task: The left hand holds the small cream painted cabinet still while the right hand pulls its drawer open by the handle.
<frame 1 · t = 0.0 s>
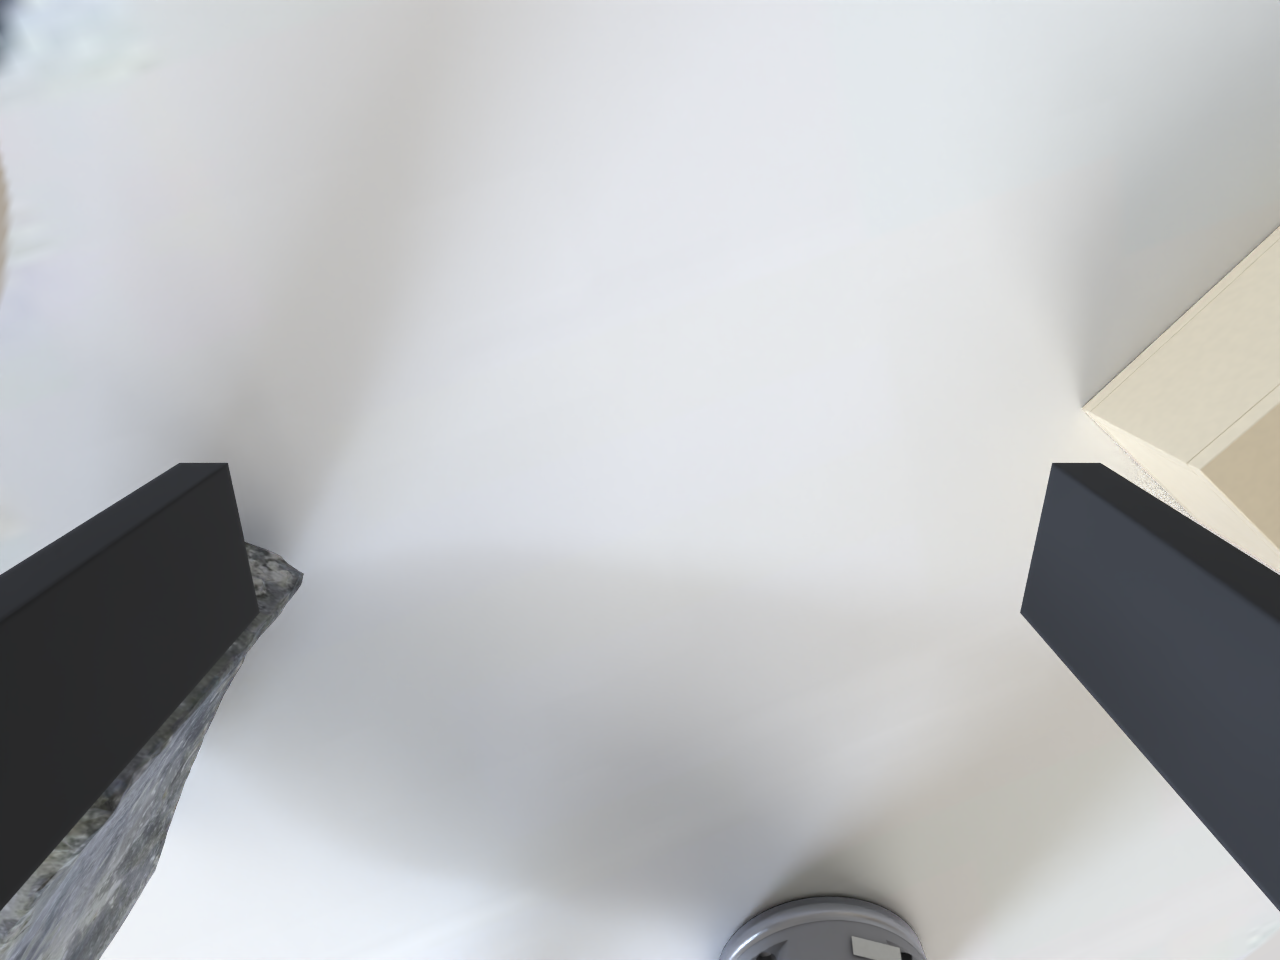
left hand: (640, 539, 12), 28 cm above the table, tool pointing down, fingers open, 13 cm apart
concrete block: (191, 676, 47), on the table
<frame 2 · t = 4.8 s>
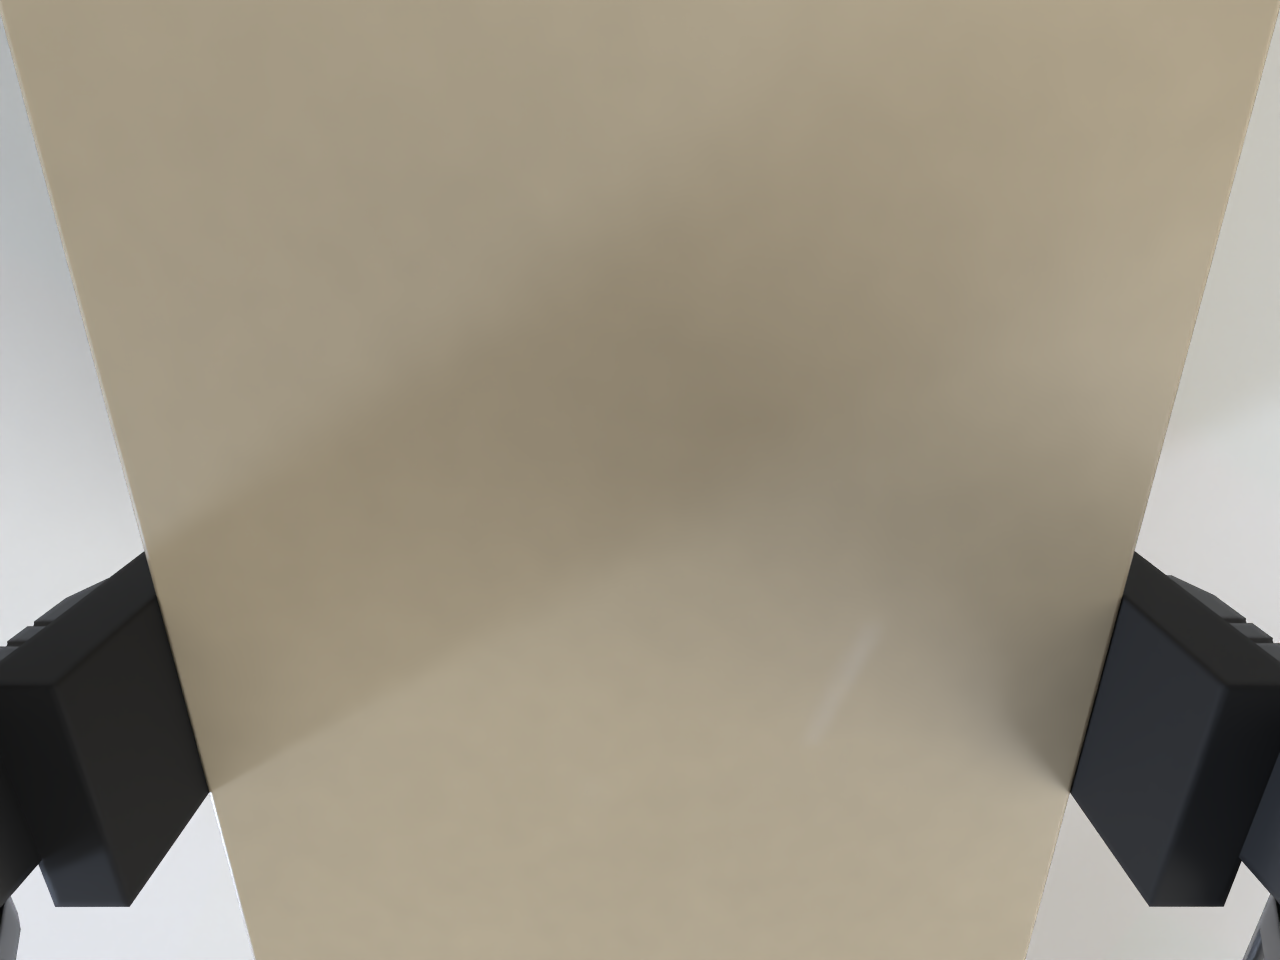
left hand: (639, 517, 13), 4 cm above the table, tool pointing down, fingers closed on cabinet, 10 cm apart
cabinet: (639, 219, 15), on the table, touching left hand
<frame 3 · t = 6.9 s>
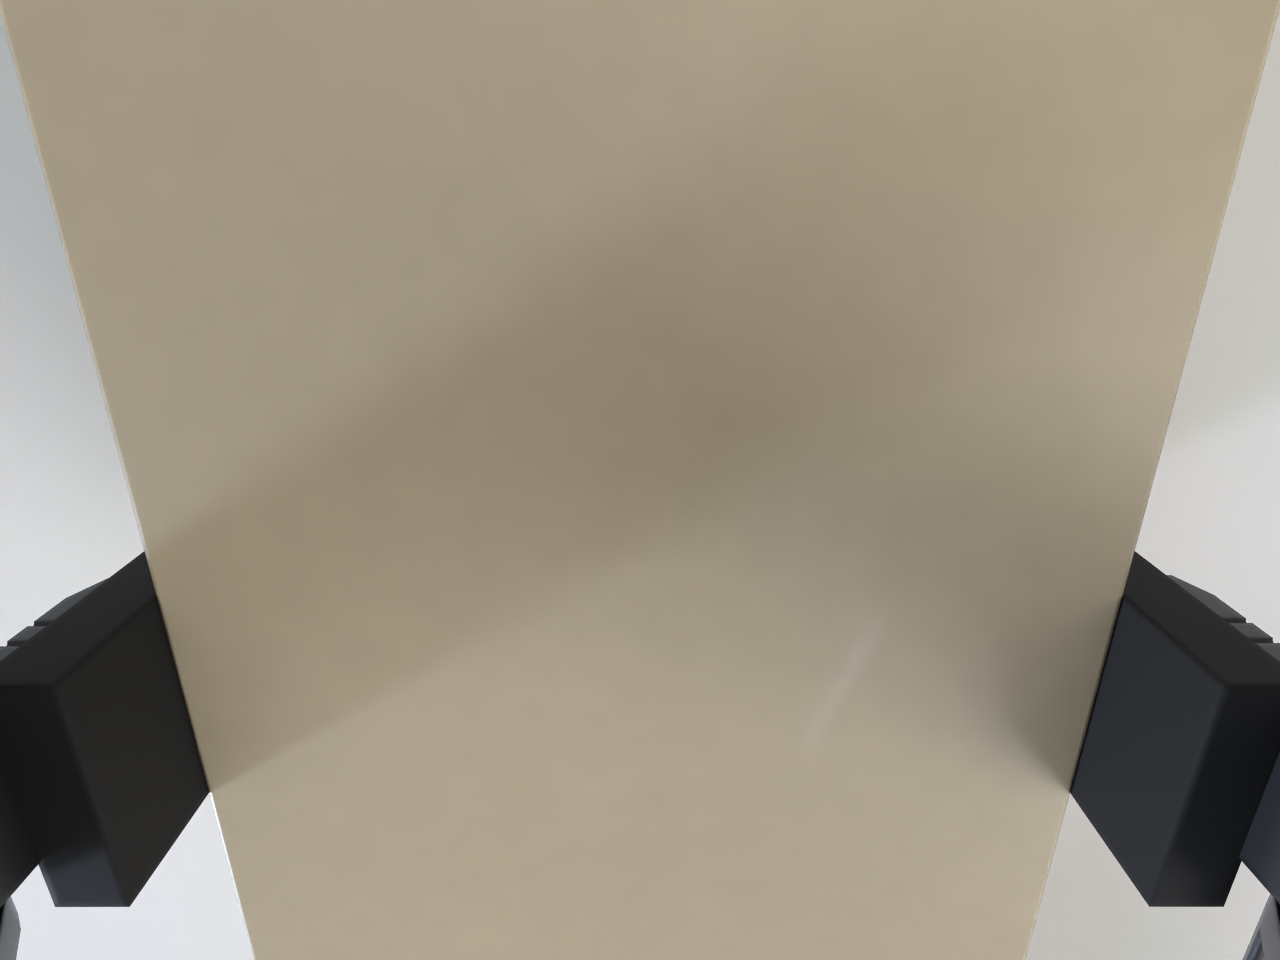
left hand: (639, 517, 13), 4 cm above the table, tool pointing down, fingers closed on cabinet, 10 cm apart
cabinet: (639, 219, 15), on the table, touching left hand
when the left hand's fingers open (4 cm above the table, at t = 9.7 s): cabinet stays where it is, on the table.
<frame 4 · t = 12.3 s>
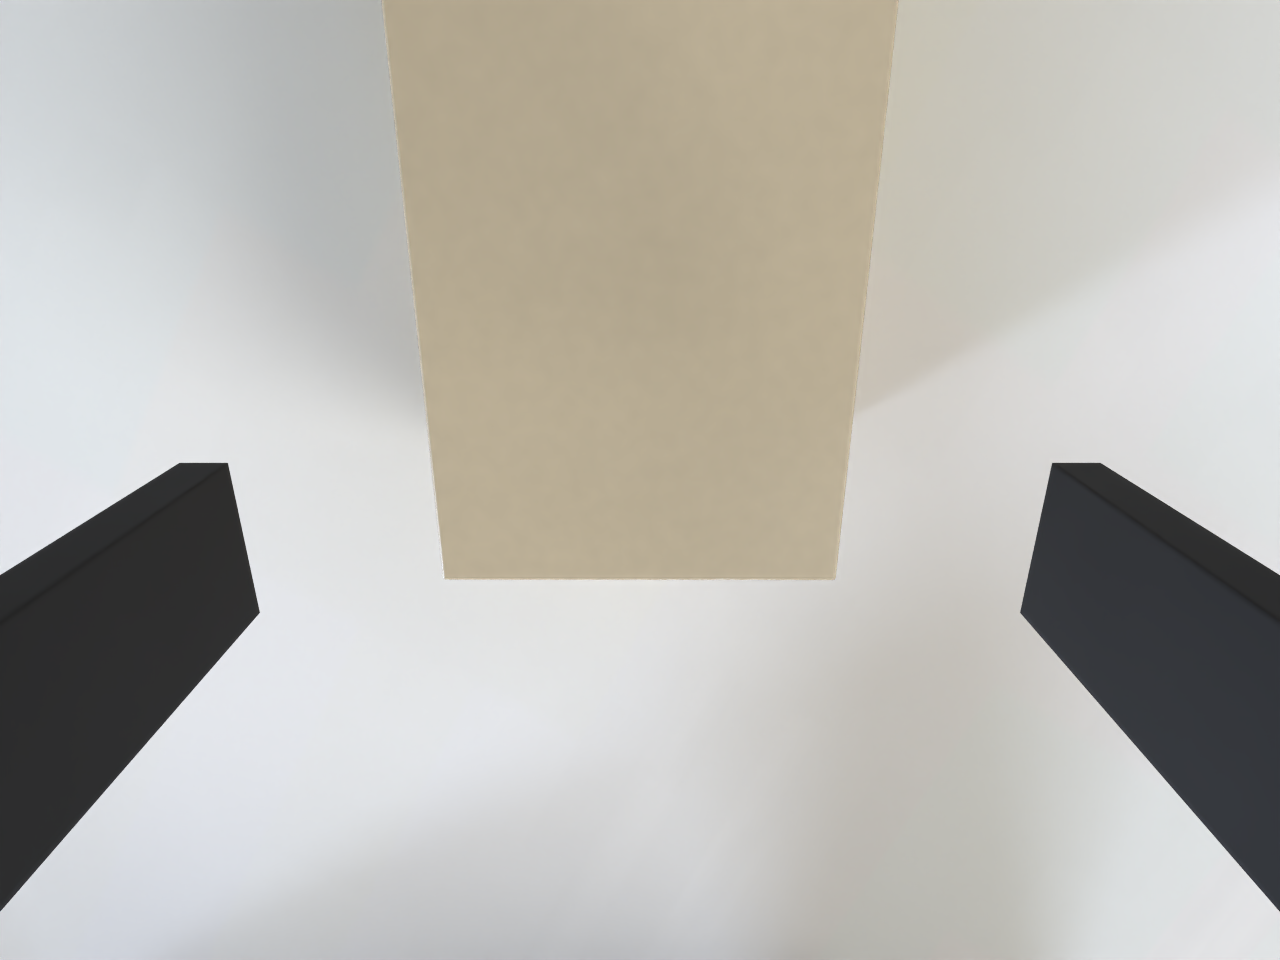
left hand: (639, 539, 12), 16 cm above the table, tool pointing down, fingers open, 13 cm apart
cabinet: (639, 199, 25), on the table
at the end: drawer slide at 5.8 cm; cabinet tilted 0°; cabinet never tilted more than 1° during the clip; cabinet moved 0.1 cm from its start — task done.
